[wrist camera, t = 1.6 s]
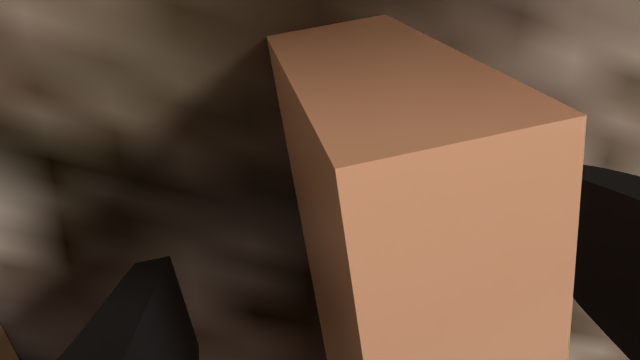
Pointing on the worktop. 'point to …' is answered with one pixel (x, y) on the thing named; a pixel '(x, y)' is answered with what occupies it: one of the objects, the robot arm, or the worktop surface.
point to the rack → (6, 347)
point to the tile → (429, 196)
